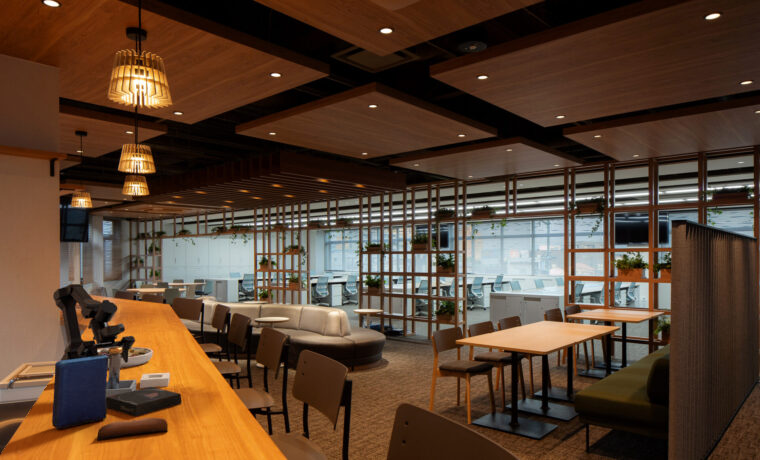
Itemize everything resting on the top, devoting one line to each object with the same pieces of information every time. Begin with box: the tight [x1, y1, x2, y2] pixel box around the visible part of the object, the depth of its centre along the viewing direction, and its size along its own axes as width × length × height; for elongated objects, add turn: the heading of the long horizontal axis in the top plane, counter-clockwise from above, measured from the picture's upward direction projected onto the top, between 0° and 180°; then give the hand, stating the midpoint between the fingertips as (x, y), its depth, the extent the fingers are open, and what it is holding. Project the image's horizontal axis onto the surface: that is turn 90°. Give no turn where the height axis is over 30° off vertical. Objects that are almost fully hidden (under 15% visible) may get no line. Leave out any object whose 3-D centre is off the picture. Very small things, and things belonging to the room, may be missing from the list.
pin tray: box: [105, 379, 137, 400], centre depth 180 cm, size 14×14×4 cm
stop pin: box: [107, 347, 122, 389], centre depth 180 cm, size 4×4×16 cm
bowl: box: [97, 346, 154, 370], centre depth 233 cm, size 30×30×8 cm
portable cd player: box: [106, 387, 183, 418], centre depth 168 cm, size 16×17×4 cm
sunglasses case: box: [96, 417, 169, 442], centre depth 143 cm, size 18×7×7 cm, turn 117°
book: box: [51, 354, 108, 430], centre depth 149 cm, size 14×5×20 cm, turn 141°
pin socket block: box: [139, 372, 171, 389], centre depth 197 cm, size 10×10×3 cm
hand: (114, 364), depth 181 cm, fingers open, 9 cm apart
